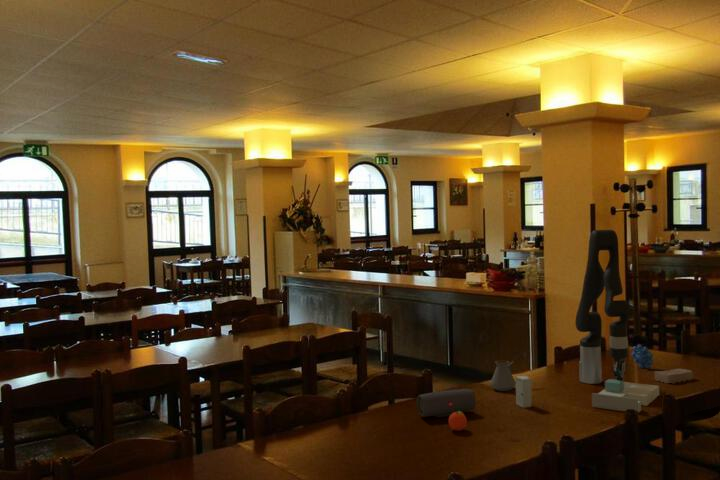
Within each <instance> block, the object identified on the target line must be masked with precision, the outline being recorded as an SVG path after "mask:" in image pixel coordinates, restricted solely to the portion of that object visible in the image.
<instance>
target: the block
mask: <svg viewBox="0 0 720 480" xmlns="http://www.w3.org/2000/svg"><path fill="white" fill-rule="evenodd" d="M624 382H625V381H624V379H623V380H617V379H612V378H609V379H607V380H605V381H604V389H605V391H607V392H615V393H620V392H622V391H623V390H624Z"/></svg>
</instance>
